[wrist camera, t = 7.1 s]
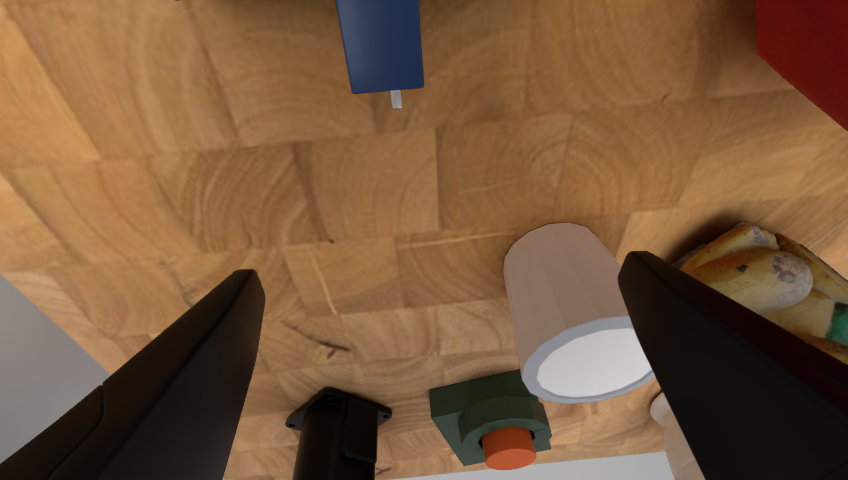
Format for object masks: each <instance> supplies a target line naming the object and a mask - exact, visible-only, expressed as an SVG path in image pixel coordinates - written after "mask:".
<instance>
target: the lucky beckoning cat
mask: <svg viewBox="0 0 848 480" xmlns="http://www.w3.org/2000/svg"><path fill="white" fill-rule="evenodd" d="M671 265H673V266H675V267H677V268H678V269H680V270H682V271H684V272H685V273H687V274H689V275H691V276H692V277H694V278H696V279H698V280H699V281H701V282H703V283H705V284H706V285H708V286H710V287H712V288H713V289H715V290H717V291H719V292H720V293H722V294H724V295H726V296H728V297H729V298H731V299H733V300H735V301H736V302H738V303H740V304H742V305H743V306H745V307H747V308H749V309H750V310H752V311H754V312H756V313H757V314H759V315H761V316H763V317H764V318H766V319H768V320H770V321H772V322H773V323H775V324H777V325H779V326H780V327H782V328H784V329H786V330H787V331H789V332H791V333H793V334H794V335H796V336H798V337H800V338H801V339H803V340H805V342H806V343H810V344H812V345H814V346H816V347H817V348H819V349H821V350H823V351H824V352H826V353H828V354H830V355H831V356H833V357H835V358H837V359H839V360H840V361H842V362H844V363H846V364H848V280H846V279H845V278H843V277H842V276H841V275H840V274H838V272H836V271H835V270H834V269H833V268H831V267H830V266H829V265H828V264H826V263H825V262H824V261H823V260H821V259H820V258H819V257H817V256H816V255H815V254H814V253H812V252H811V251H810V250H808V249H807V248H806V247H804V246H803V245H801V244H797V243H796V242H795V241H793V240H791V239H789V238H788V237H786V236H784V235H782V234H779V233H776V234H773V233H771V232H768V231H767V230H766V229H763V228H758V227H757V226H755V225H753V224H750V223H749V222H747V221H743V222H739V223H738V224H737V225H735V226H734V227H733V228H731V229H730V230H728V231H727V232H725V233H724V234H722V235H721V236H719V237H718V238H717V239H715V240H714V241H712V242H710V243H709V244H701V245H700V246H698V247H697V248H694V250H693V251H689V253H687V254H686V255H685V256H682V257H681V258H680V259H679V260H676V261H675V262H674V263H672V264H671Z"/></svg>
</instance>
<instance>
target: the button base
mask: <svg viewBox="0 0 848 480" xmlns="http://www.w3.org/2000/svg"><path fill="white" fill-rule="evenodd" d="M429 394H430V408H431V418H432V420H433V421H434V423H435V424H436V426H437V427H438V429H439V430H440V432H441V433H442V435H443V436H444V438H445V439H446V441H447V442H448V444H449V445H450V446H451V448H452V449H453V451H454V452H455V454H456V455H457V457H458V458H459V460H460V461H461V463H462V464H463V466H466V465H472V464H477V463H482V462H485V457H484V451H483V445H482V436H483V435H485V434H487V433H489V432H491V431H493V430H496V429H501V428H506V427H524V428H526V429H529V431H530V434H531V437H532V441H533V445H534V449H535V452H539V451H544V450H550V449H551V446H550V442H549V439H550V438H551V437H552V434H551V430H550V426H549V423H548V419H547V416H546V413H545V410H544V406H543V404H542V403H540V402H539V401H538V398H537V396H536V395H534V394H532V393H530V391H529V390H528V388H527V387H526V385H525V384H524V382H523V380H522V376H521V371H520V370H517V371H512V372H508V373H503V374H499V375H495V376H490V377H486V378H481V379H477V380H472V381H468V382H464V383H459V384H455V385H450V386H446V387H441V388H437V389H433V390H429Z"/></svg>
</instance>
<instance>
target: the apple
mask: <svg viewBox="0 0 848 480" xmlns="http://www.w3.org/2000/svg"><path fill="white" fill-rule="evenodd" d="M755 20H756V34H757V48H758V55H759V56H760V57H761V58H762V59H764V60H765V61H766V62H767V63H768V64H769V65H770V66H771V67H772V68H773V69H774V70H775V71H777V72H778V73H779V74H780V75H781V76H782V77H783V78H784V79H785V80H787V81H788V82H789V83H790V84H791V85H793V86H794V87H795V88H796V89H797V90H799V91H800V92H801V93H802V94H803V95H805V96H806V97H807V98H808V99H809V100H811V101H812V102H813V103H814V104H815V105H817V106H818V107H819V108H820V109H821V110H823V111H824V112H825V113H826V114H827V115H829V116H830V117H831V118H832V119H833V120H835V121H836V122H837V123H838V124H839V125H841V126H842V127H843V128H844V129H845V130H847V131H848V0H757V3H756V8H755Z"/></svg>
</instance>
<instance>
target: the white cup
mask: <svg viewBox="0 0 848 480" xmlns="http://www.w3.org/2000/svg"><path fill="white" fill-rule="evenodd" d="M621 267H622V266H621V265H620V264H619V263H618V261H617V260H616V259H615V258H614V257H613V255H612V254H611V253H610V252H609V251H608V249H607V248H606V247H605V246H604V244H603V243H602V242H601V241H600V240H599V238H598V237H597V236H596V235H595V234H594V233H592V232H591V231H590V230H589V229H588V228H587V227H585V226H581V225H577V224H573V223H569V222H567V223H555V224H547V225H545V226H542V227H540V228H537V229H535V230H532V231H530V232H528V233H527V234H525V235H524V236H523V237H521V238H520V239H519V240H518V241H516V242H515V243H514V244H513V245H512V247H511V248H510V250H509V252H508V253H507V255H506V256H505V258H504V269H503V273H504V279H505V285H506V290H507V296H508V302H509V308H510V313H511V319H512V325H513V330H514V336H515V342H516V348H517V353H518V359H519V365H520V371H521V376H522V380H523V382H524V384H525V385H526V387H527V388H528V390H529V391H530V393H532V394H534V395H536V396H538V397H540V398H542V399H544V400H546V401H552V402H560V403H568V404H574V403H585V402H596V401H600V400H604V399H608V398H611V397H615V396H618V395H622V394H625V393H627V392H629V391H631V390H633V389H635V388H638V387H640V386H642V385H644V384H646V383H648V382H650V381H651V380H652V379H653V378H655V375H654V373H653V370H652V368H651V366H650V364H649V362H648V360H647V358H646V356H645V354H644V352H643V350H642V348H641V345H640V343H639V341H638V339H637V336H636V334H635V331H634V328H633V326H632V323H631V320H630V317H629V314H628V311H627V309H626V306H625V303H624V300H623V297H622V294H621V291H620V289H619V286H618V274H619V272H620V269H621Z"/></svg>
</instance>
